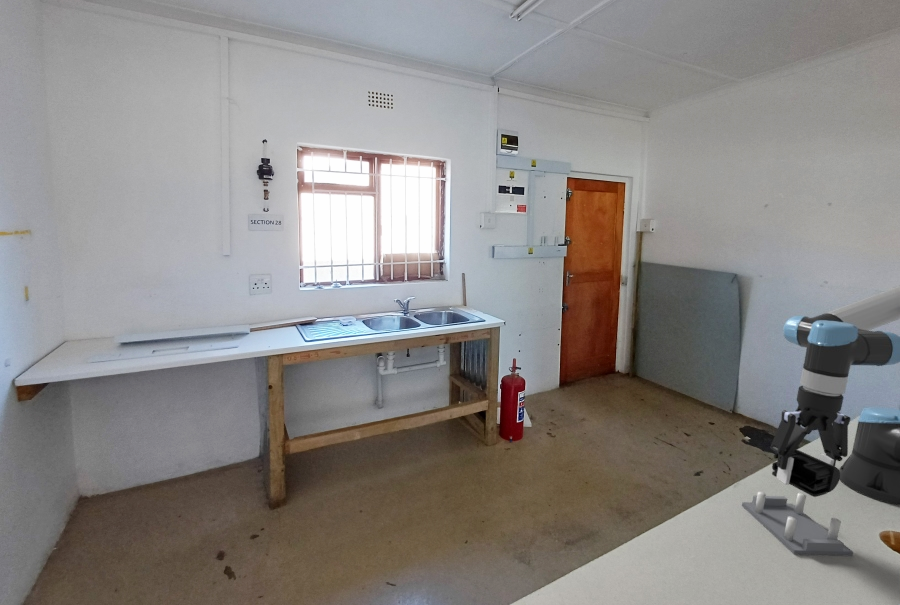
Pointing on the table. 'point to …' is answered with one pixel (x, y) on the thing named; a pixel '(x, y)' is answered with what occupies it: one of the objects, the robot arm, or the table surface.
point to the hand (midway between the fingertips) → (802, 481)
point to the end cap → (811, 474)
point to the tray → (796, 526)
